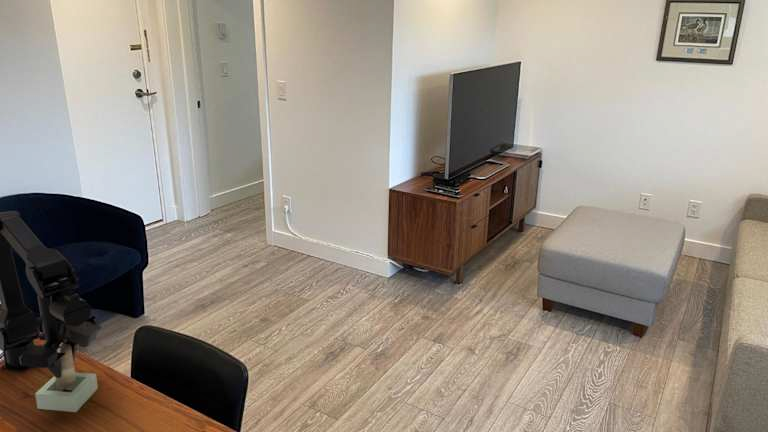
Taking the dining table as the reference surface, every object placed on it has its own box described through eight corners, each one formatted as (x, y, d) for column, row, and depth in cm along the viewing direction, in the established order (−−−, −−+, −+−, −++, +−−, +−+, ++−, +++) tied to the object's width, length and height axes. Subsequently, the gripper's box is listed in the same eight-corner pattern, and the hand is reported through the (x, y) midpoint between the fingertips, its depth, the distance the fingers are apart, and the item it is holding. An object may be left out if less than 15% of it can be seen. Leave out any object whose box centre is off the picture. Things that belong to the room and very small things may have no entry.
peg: (52, 387, 132) (47, 353, 129) (63, 377, 136) (58, 343, 133) (69, 389, 132) (64, 354, 129) (79, 378, 135) (74, 345, 132)
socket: (37, 408, 131) (35, 393, 130) (61, 385, 139) (59, 370, 138) (76, 412, 130) (73, 397, 129) (97, 388, 139) (96, 374, 138)
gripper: (64, 335, 118) (74, 400, 123) (112, 294, 136) (119, 352, 141) (12, 331, 119) (24, 395, 124) (67, 291, 137) (75, 349, 142)
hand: (64, 371), depth 133 cm, fingers closed on peg, 4 cm apart
